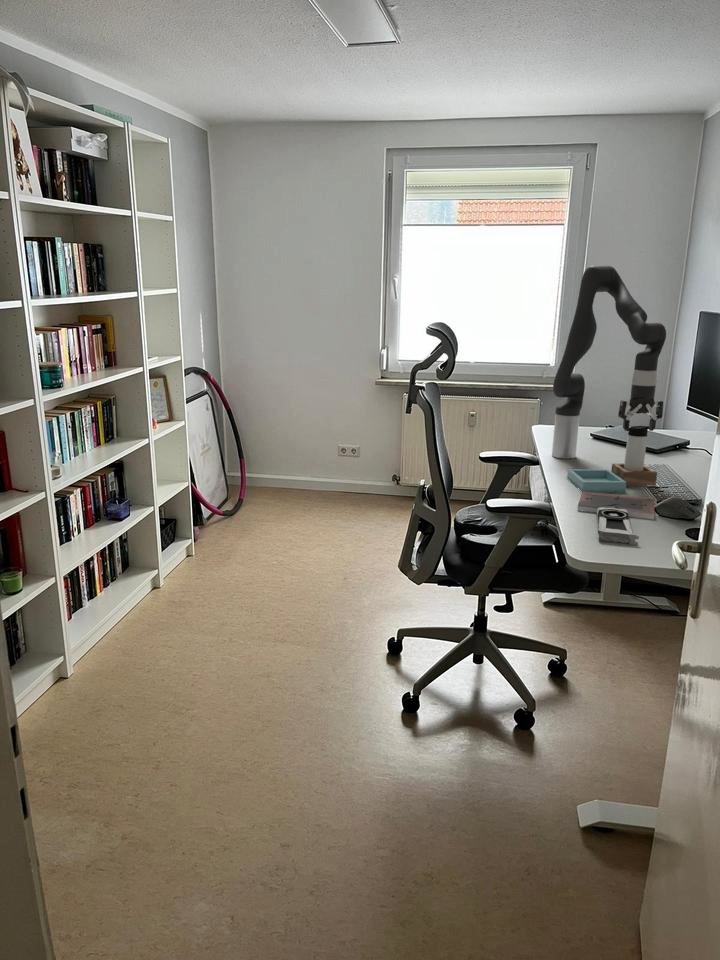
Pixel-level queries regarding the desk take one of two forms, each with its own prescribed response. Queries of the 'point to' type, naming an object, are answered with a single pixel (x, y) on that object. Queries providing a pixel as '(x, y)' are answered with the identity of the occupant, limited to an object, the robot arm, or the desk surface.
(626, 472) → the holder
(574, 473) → the tray
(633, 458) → the travel mug
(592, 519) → the desk surface
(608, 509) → the graphics card
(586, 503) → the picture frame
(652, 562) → the desk surface
